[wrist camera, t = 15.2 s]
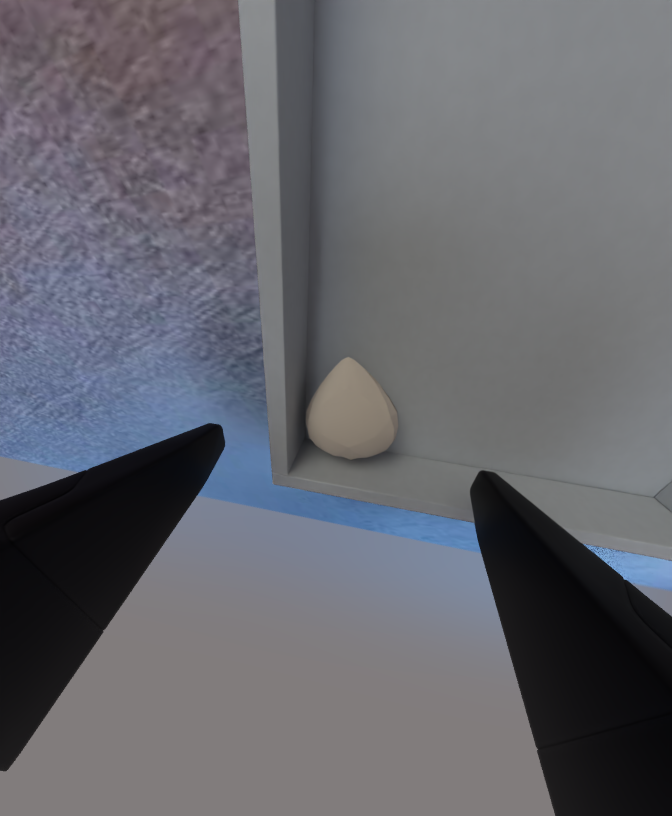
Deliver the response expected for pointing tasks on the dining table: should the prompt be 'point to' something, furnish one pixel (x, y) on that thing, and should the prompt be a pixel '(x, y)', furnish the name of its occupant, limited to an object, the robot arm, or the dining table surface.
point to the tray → (471, 248)
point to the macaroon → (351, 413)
